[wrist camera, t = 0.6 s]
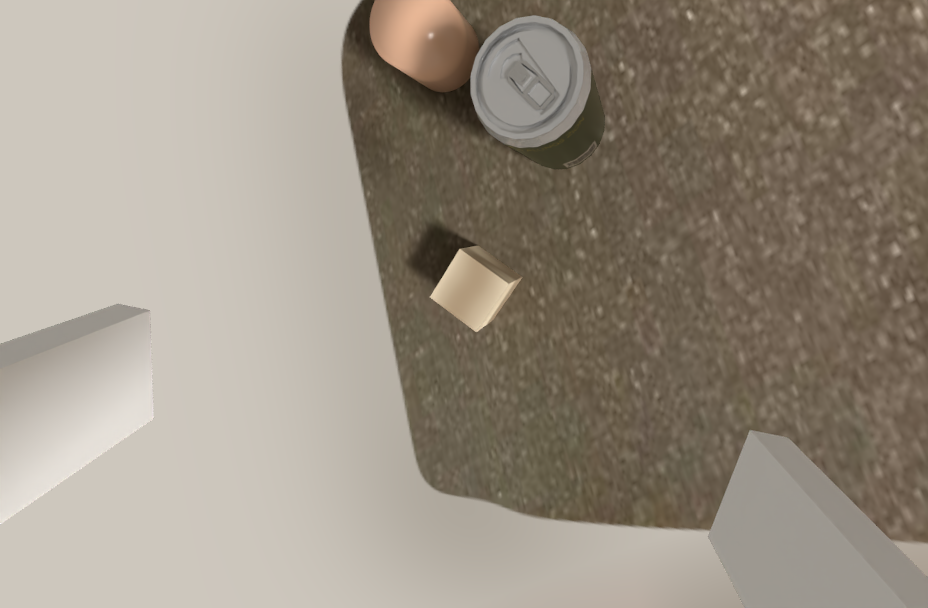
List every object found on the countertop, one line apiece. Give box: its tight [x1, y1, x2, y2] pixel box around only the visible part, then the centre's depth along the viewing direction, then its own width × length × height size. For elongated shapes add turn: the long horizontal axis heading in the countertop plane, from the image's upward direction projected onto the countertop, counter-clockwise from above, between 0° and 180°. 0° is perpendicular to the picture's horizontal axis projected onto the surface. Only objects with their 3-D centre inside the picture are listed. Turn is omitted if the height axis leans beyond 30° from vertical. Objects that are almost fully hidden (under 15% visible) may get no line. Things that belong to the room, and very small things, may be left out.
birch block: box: [430, 246, 522, 332], centre depth 33 cm, size 4×4×4 cm
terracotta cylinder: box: [370, 0, 479, 92], centre depth 30 cm, size 5×5×6 cm
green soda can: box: [471, 15, 605, 169], centre depth 26 cm, size 5×5×12 cm
